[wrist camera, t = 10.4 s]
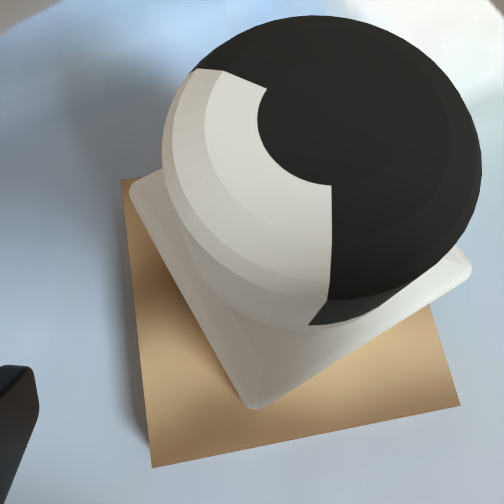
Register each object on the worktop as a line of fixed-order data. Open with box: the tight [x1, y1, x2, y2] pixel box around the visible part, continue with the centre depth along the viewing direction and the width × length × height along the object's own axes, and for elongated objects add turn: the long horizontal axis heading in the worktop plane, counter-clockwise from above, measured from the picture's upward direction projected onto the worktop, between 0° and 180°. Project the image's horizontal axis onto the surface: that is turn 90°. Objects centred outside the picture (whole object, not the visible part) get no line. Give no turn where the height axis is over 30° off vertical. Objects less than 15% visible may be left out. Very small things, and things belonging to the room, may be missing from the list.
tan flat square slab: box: [121, 177, 461, 468], centre depth 20 cm, size 12×12×2 cm
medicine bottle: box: [129, 15, 482, 410], centre depth 14 cm, size 7×7×12 cm
